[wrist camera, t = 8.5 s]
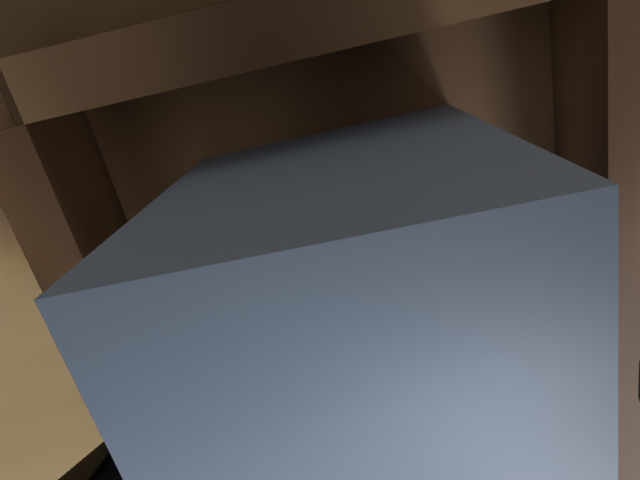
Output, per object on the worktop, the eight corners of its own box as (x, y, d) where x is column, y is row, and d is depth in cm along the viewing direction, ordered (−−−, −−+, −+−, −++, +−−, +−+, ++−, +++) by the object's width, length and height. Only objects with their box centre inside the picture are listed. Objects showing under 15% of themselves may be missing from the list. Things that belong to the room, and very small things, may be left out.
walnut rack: (605, -72, 9) (727, -125, 6) (608, 476, 14) (676, 582, 11) (24, 73, 10) (-91, 81, 8) (215, 529, 15) (188, 636, 12)
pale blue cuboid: (448, 104, 9) (617, 185, 4) (491, 453, 13) (617, 776, 7) (203, 158, 10) (33, 299, 4) (304, 480, 13) (282, 802, 7)
